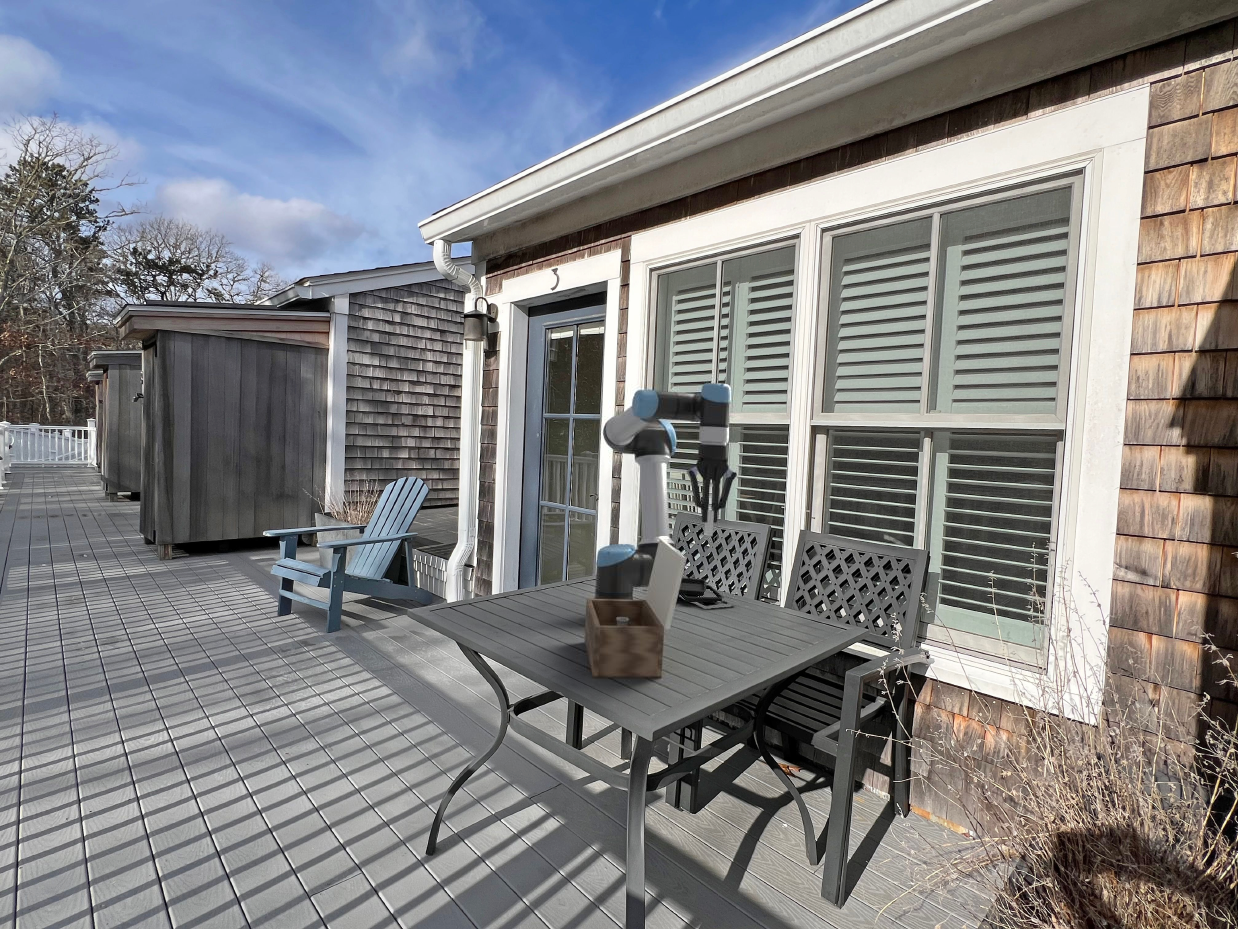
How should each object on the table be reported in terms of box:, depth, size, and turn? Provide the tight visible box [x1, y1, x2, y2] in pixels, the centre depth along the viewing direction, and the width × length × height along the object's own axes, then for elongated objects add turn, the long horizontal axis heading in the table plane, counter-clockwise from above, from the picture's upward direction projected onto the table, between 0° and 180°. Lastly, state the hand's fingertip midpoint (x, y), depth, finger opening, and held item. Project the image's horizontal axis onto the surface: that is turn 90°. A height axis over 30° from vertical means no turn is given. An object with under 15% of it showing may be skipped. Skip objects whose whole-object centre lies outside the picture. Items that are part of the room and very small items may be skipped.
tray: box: [678, 577, 724, 604], centre depth 234 cm, size 30×23×5 cm
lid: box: [644, 539, 687, 631], centre depth 167 cm, size 17×28×1 cm
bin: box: [584, 598, 665, 679], centre depth 167 cm, size 16×26×12 cm, turn 7°
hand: (708, 535), depth 168 cm, fingers closed
